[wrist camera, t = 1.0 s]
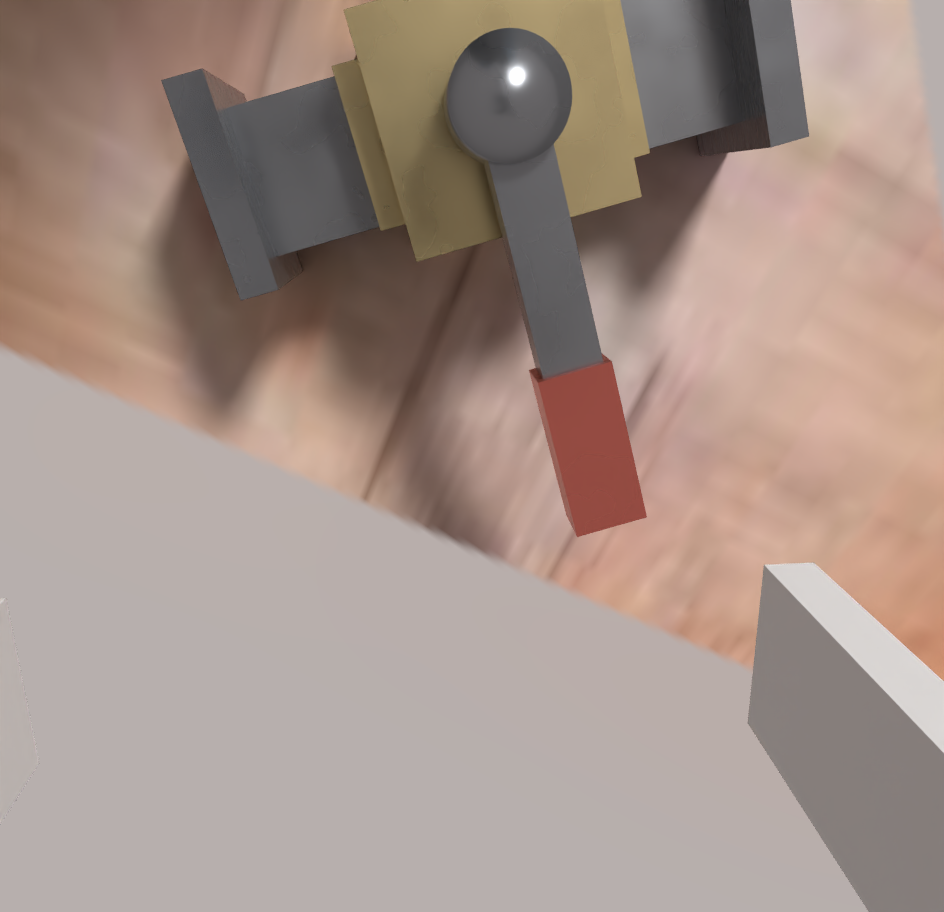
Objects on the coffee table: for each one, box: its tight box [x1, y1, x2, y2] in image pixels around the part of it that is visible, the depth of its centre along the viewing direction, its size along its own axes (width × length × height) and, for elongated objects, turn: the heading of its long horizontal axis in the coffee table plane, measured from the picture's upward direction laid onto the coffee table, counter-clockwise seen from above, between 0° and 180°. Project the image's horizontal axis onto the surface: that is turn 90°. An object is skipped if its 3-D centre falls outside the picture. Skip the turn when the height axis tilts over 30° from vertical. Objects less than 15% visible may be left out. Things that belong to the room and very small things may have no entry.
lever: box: [444, 28, 647, 537], centre depth 24 cm, size 14×3×2 cm, turn 15°
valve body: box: [161, 0, 809, 300], centre depth 27 cm, size 7×18×7 cm, turn 105°
